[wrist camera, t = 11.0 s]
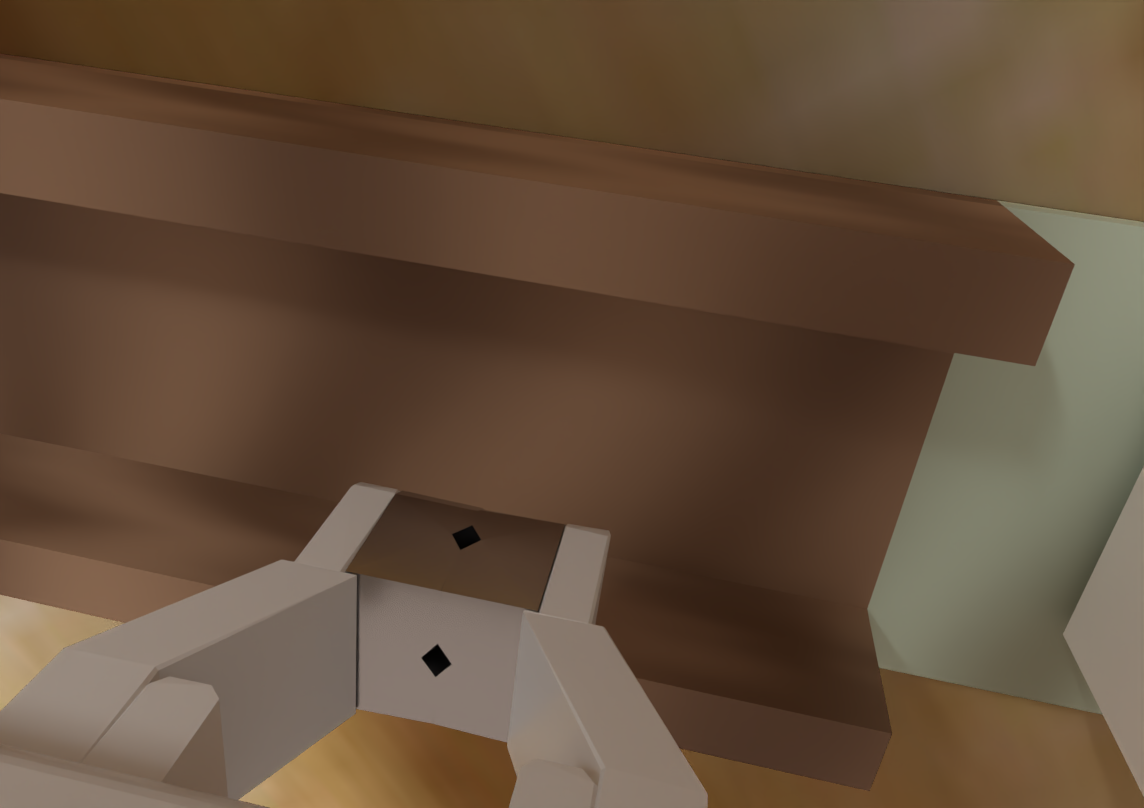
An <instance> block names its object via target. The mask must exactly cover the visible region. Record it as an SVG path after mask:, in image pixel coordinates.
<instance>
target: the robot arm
mask: <svg viewBox="0 0 1144 808" xmlns="http://www.w3.org/2000/svg"><path fill="white" fill-rule="evenodd" d="M610 537H611V535H610V532H609V531H608V530H602V529H596V528H590V527H584V526H578V525H572V524H567V525H565V524H560V523H555V522H550V521H544V520H539V519H533V518H528V517H522V516H517V515H512V514H506V513H501V512H495V511H490V510H485V509H483V508H480V507H475V506H471V505H466V504H462V503H457V502H453V501H448V500H444V499H439V498H435V497H430V496H426V495H421V494H417V493H412V492H407V491H403V490H402V491H399V490H398V489H393V488H388V487H383V486H378V485H373V484H368V483H363V482H360V483H357V484H354V485H353V486H351V487H350V489H349V490H348V491H347V493H346V494H345V495H344V497H343V498H342V499H341V501H340V502H339V503H338V505H337V506H336V507H335V509H334V510H333V511H332V513H331V514H330V515H329V517H328V518H327V519H326V520H325V522H324V523H323V524H322V526H321V527H320V528H319V530H318V531H317V532H316V534H315V535H314V536H313V538H312V539H311V540H310V542H309V543H308V544H307V546H306V547H305V548H304V550H303V551H302V552H301V553H300V555H299V556H298V557H297V559H296V560H295V561H294V562H292V561H287V560H279V561H277V562H274V563H272V564H269V565H267V566H264V567H262V568H259V569H257V570H255V571H252V572H250V573H247V574H245V575H242V576H240V577H237V578H235V579H232V580H230V581H228V582H225V583H223V584H220V585H218V586H215V587H213V588H210V589H208V590H205V591H203V592H201V593H198V594H196V595H193V596H191V597H188V598H186V599H183V600H181V601H178V602H176V603H173V604H171V605H169V606H166V607H164V608H161V609H159V610H156V611H154V612H151V613H149V614H146V615H144V616H142V617H139V618H137V619H134V620H132V621H129V622H127V623H124V624H122V625H119V626H117V627H115V628H112V629H110V630H107V631H105V632H102V633H100V634H97V635H95V636H92V637H90V638H87V639H85V640H83V641H80V642H78V643H75V644H73V645H70V646H68V647H65V648H63V649H62V650H61V651H60V652H59V653H58V654H57V655H56V656H55V657H54V658H53V659H52V660H51V661H50V662H49V663H48V664H47V665H46V666H45V667H44V668H43V669H42V670H41V671H40V672H39V673H38V674H37V675H36V676H35V677H34V678H33V679H32V680H31V681H30V682H29V683H28V684H27V685H26V686H25V687H24V688H23V689H22V690H21V691H20V692H19V693H18V694H17V695H16V696H15V697H14V698H13V699H12V700H11V701H10V702H9V703H8V704H7V705H6V706H5V707H4V708H3V709H2V710H1V711H0V808H268V807H264V806H260V805H256V804H252V803H247V802H243V801H239V799H240V798H241V797H243V796H244V795H245V794H247V793H248V792H249V791H251V790H252V789H253V788H255V787H256V786H258V785H259V784H260V783H262V782H263V781H264V780H266V779H267V778H268V777H270V776H271V775H273V774H274V773H275V772H277V771H278V770H279V769H281V768H282V767H283V766H285V765H286V764H287V763H289V762H290V761H292V760H293V759H294V758H296V757H297V756H298V755H300V754H301V753H302V752H304V751H305V750H307V749H308V748H309V747H311V746H312V745H313V744H315V743H316V742H317V741H319V740H320V739H321V738H323V737H324V736H326V735H327V734H328V733H330V732H331V731H332V730H334V729H335V728H336V727H338V726H339V725H341V724H342V723H343V722H345V721H346V720H347V719H349V718H350V717H351V716H353V715H354V714H355V713H356V709H360V710H365V711H370V712H375V713H380V714H386V715H391V716H396V717H401V718H406V719H411V720H417V721H422V722H427V723H432V724H436V725H440V726H444V727H448V728H452V729H456V730H460V731H463V732H467V733H471V734H475V735H479V736H483V737H487V738H491V739H495V740H499V741H503V742H507V748H508V751H509V754H510V757H511V760H512V763H513V766H514V769H515V772H516V775H517V781H516V784H515V788H514V791H513V794H512V798H511V801H510V805H509V808H708V794H707V792H706V790H705V789H704V787H703V786H702V784H701V782H700V781H699V779H698V777H697V776H696V774H695V773H694V771H693V769H692V768H691V766H690V765H689V763H688V761H687V760H686V758H685V756H684V755H683V753H682V752H681V750H680V748H679V747H678V745H677V743H676V742H675V740H674V739H673V737H672V735H671V734H670V732H669V731H668V729H667V727H666V726H665V724H664V722H663V721H662V719H661V718H660V716H659V714H658V713H657V711H656V709H655V708H654V706H653V705H652V703H651V701H650V700H649V698H648V697H647V695H646V693H645V692H644V690H643V688H642V687H641V685H640V684H639V682H638V680H637V679H636V677H635V676H634V674H633V672H632V671H631V669H630V667H629V666H628V664H627V663H626V661H625V659H624V658H623V656H622V654H621V653H620V651H619V650H618V648H617V646H616V645H615V643H614V642H613V640H612V638H611V637H610V635H609V633H608V632H607V630H606V629H605V627H603V626H598V625H595V623H596V617H597V612H598V606H599V600H600V594H601V589H602V583H603V577H604V572H605V566H606V560H607V554H608V549H609V543H610Z"/></svg>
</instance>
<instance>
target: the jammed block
mask: <svg viewBox="0 0 1144 808" xmlns="http://www.w3.org/2000/svg"><path fill="white" fill-rule="evenodd" d="M1063 636H1064V638H1065V640H1066V642H1067V644H1068V646H1069V648H1070V650H1071V652H1072V654H1073V656H1074V658H1075V660H1076V662H1077V664H1078V666H1079V668H1080V670H1081V672H1082V674H1083V676H1084V678H1085V680H1086V682H1087V684H1088V686H1089V688H1090V690H1091V692H1092V694H1093V696H1094V698H1095V700H1096V702H1097V704H1098V706H1099V708H1100V710H1101V712H1102V714H1103V716H1104V718H1105V720H1106V722H1107V724H1108V726H1109V728H1110V730H1111V732H1112V734H1113V736H1114V738H1115V740H1116V742H1117V744H1118V746H1119V748H1120V750H1121V752H1122V754H1123V756H1124V758H1125V761H1126V763H1127V765H1128V767H1129V769H1130V771H1131V773H1132V775H1133V777H1134V779H1135V781H1136V783H1137V785H1138V787H1139V789H1140V791H1141V793H1142V795H1143V797H1144V466H1143V468H1142V471H1141V473H1140V475H1139V477H1138V479H1137V481H1136V483H1135V485H1134V487H1133V489H1132V491H1131V493H1130V496H1129V498H1128V500H1127V502H1126V504H1125V506H1124V508H1123V510H1122V512H1121V514H1120V516H1119V518H1118V521H1117V523H1116V525H1115V527H1114V529H1113V531H1112V533H1111V535H1110V537H1109V539H1108V541H1107V543H1106V546H1105V548H1104V550H1103V552H1102V554H1101V556H1100V558H1099V560H1098V562H1097V564H1096V566H1095V568H1094V571H1093V573H1092V575H1091V577H1090V579H1089V581H1088V583H1087V585H1086V587H1085V589H1084V591H1083V593H1082V596H1081V598H1080V600H1079V602H1078V604H1077V606H1076V608H1075V610H1074V612H1073V614H1072V616H1071V618H1070V621H1069V623H1068V625H1067V627H1066V629H1065V631H1064V633H1063Z"/></svg>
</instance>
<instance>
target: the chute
mask: <svg viewBox="0 0 1144 808" xmlns="http://www.w3.org/2000/svg"><path fill="white" fill-rule="evenodd" d="M1143 466H1144V222H1140V221H1134V220H1127V219H1120V218H1113V217H1106V216H1100V215H1093V214H1086V213H1079V212H1073V211H1066V210H1059V209H1052V208H1045V207H1039V206H1032V205H1025V204H1018V203H1011V202H1005V201H998V200H991V199H984V198H977V197H971V196H964V195H957V194H950V193H944V192H937V191H930V190H923V189H916V188H910V187H903V186H896V185H889V184H882V183H876V182H869V181H862V180H855V179H848V178H842V177H835V176H828V175H821V174H815V173H808V172H801V171H794V170H787V169H781V168H774V167H767V166H760V165H753V164H747V163H740V162H733V161H726V160H719V159H713V158H706V157H699V156H692V155H686V154H679V153H672V152H665V151H658V150H652V149H645V148H638V147H631V146H624V145H618V144H611V143H604V142H597V141H590V140H584V139H577V138H570V137H563V136H557V135H550V134H543V133H536V132H529V131H523V130H516V129H509V128H502V127H495V126H489V125H482V124H475V123H468V122H461V121H455V120H448V119H441V118H434V117H428V116H421V115H414V114H407V113H400V112H394V111H387V110H380V109H373V108H366V107H360V106H353V105H346V104H339V103H332V102H326V101H319V100H312V99H305V98H299V97H292V96H285V95H278V94H271V93H265V92H258V91H251V90H244V89H237V88H231V87H224V86H217V85H210V84H203V83H197V82H190V81H183V80H176V79H170V78H163V77H156V76H149V75H142V74H136V73H129V72H122V71H115V70H108V69H102V68H95V67H88V66H81V65H74V64H68V63H61V62H54V61H47V60H41V59H34V58H27V57H20V56H13V55H7V54H0V595H5V596H9V597H14V598H18V599H22V600H27V601H31V602H36V603H40V604H45V605H49V606H53V607H58V608H62V609H67V610H71V611H76V612H80V613H84V614H89V615H93V616H98V617H102V618H106V619H111V620H115V621H120V622H124V623H127V622H129V621H132V620H134V619H137V618H139V617H142V616H144V615H146V614H149V613H151V612H154V611H156V610H159V609H161V608H164V607H166V606H169V605H171V604H173V603H176V602H178V601H181V600H183V599H186V598H188V597H191V596H193V595H196V594H198V593H201V592H203V591H205V590H208V589H210V588H213V587H215V586H218V585H220V584H223V583H225V582H228V581H230V580H232V579H235V578H237V577H240V576H242V575H245V574H247V573H250V572H252V571H255V570H257V569H259V568H262V567H264V566H267V565H269V564H272V563H274V562H277V561H279V560H287V561H292V562H294V561H295V560H296V559H297V557H298V556H299V555H300V553H301V552H302V551H303V550H304V548H305V547H306V546H307V544H308V543H309V542H310V540H311V539H312V538H313V536H314V535H315V534H316V532H317V531H318V530H319V528H320V527H321V526H322V524H323V523H324V522H325V520H326V519H327V518H328V517H329V515H330V514H331V513H332V511H333V510H334V509H335V507H336V506H337V505H338V503H339V502H340V501H341V499H342V498H343V497H344V495H345V494H346V493H347V491H348V490H349V489H350V487H351V486H353V485H354V484H357V483H360V482H363V483H368V484H373V485H378V486H383V487H388V488H393V489H398V490H399V491H402V490H403V491H407V492H412V493H417V494H421V495H426V496H430V497H435V498H439V499H444V500H448V501H453V502H457V503H462V504H466V505H471V506H475V507H480V508H483V509H485V510H490V511H495V512H501V513H506V514H512V515H517V516H522V517H528V518H533V519H539V520H544V521H550V522H555V523H560V524H565V525H567V524H572V525H578V526H584V527H590V528H596V529H602V530H608V531H609V532H610V535H611V537H610V543H609V549H608V554H607V560H606V566H605V572H604V577H603V583H602V589H601V594H600V600H599V606H598V612H597V617H596V623H595V625H598V626H603V627H605V629H606V630H607V632H608V633H609V635H610V637H611V638H612V640H613V642H614V643H615V645H616V646H617V648H618V650H619V651H620V653H621V654H622V656H623V658H624V659H625V661H626V663H627V664H628V666H629V667H630V669H631V671H632V672H633V674H634V676H635V677H636V679H637V680H638V682H639V684H640V685H641V687H642V688H643V690H644V692H645V693H646V695H647V697H648V698H649V700H650V701H651V703H652V705H653V706H654V708H655V709H656V711H657V713H658V714H659V716H660V718H661V719H662V721H663V722H664V724H665V726H666V727H667V729H668V731H669V732H670V734H671V735H672V737H673V739H674V740H675V742H676V743H677V745H678V747H679V748H681V749H686V750H690V751H694V752H699V753H703V754H708V755H712V756H717V757H721V758H725V759H730V760H734V761H739V762H743V763H748V764H752V765H756V766H761V767H765V768H770V769H774V770H779V771H783V772H787V773H792V774H796V775H801V776H805V777H809V778H814V779H818V780H823V781H827V782H832V783H836V784H840V785H845V786H849V787H854V788H858V789H863V790H867V791H870V789H871V786H872V784H873V781H874V779H875V776H876V774H877V771H878V768H879V766H880V763H881V761H882V758H883V756H884V753H885V750H886V748H887V745H888V743H889V740H890V738H891V735H892V731H891V726H890V721H889V716H888V711H887V706H886V701H885V696H884V691H883V686H882V681H881V676H880V671H879V668H883V669H887V670H892V671H897V672H902V673H906V674H911V675H916V676H921V677H926V678H930V679H935V680H940V681H945V682H949V683H954V684H959V685H964V686H968V687H973V688H978V689H983V690H987V691H992V692H997V693H1002V694H1007V695H1011V696H1016V697H1021V698H1026V699H1030V700H1035V701H1040V702H1045V703H1049V704H1054V705H1059V706H1064V707H1068V708H1073V709H1078V710H1083V711H1087V712H1092V713H1097V714H1102V712H1101V710H1100V708H1099V706H1098V704H1097V702H1096V700H1095V698H1094V696H1093V694H1092V692H1091V690H1090V688H1089V686H1088V684H1087V682H1086V680H1085V678H1084V676H1083V674H1082V672H1081V670H1080V668H1079V666H1078V664H1077V662H1076V660H1075V658H1074V656H1073V654H1072V652H1071V650H1070V648H1069V646H1068V644H1067V642H1066V640H1065V638H1064V636H1063V633H1064V631H1065V629H1066V627H1067V625H1068V623H1069V621H1070V618H1071V616H1072V614H1073V612H1074V610H1075V608H1076V606H1077V604H1078V602H1079V600H1080V598H1081V596H1082V593H1083V591H1084V589H1085V587H1086V585H1087V583H1088V581H1089V579H1090V577H1091V575H1092V573H1093V571H1094V568H1095V566H1096V564H1097V562H1098V560H1099V558H1100V556H1101V554H1102V552H1103V550H1104V548H1105V546H1106V543H1107V541H1108V539H1109V537H1110V535H1111V533H1112V531H1113V529H1114V527H1115V525H1116V523H1117V521H1118V518H1119V516H1120V514H1121V512H1122V510H1123V508H1124V506H1125V504H1126V502H1127V500H1128V498H1129V496H1130V493H1131V491H1132V489H1133V487H1134V485H1135V483H1136V481H1137V479H1138V477H1139V475H1140V473H1141V471H1142V468H1143ZM1102 715H1103V714H1102Z"/></svg>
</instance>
